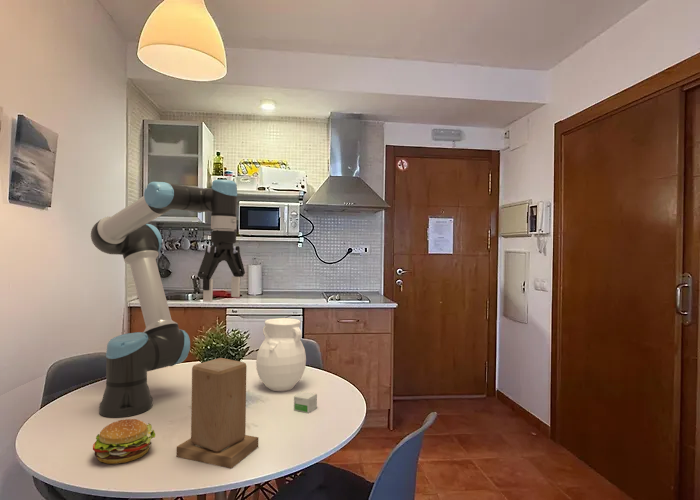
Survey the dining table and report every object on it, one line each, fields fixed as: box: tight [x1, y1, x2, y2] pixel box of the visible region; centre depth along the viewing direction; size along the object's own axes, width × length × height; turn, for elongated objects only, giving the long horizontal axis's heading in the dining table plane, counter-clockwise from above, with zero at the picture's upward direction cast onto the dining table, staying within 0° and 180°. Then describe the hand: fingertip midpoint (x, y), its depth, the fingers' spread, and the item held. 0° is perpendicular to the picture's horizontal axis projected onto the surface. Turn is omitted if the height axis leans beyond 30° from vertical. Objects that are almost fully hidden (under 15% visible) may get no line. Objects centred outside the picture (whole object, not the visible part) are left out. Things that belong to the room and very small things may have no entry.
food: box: [92, 418, 156, 465], centre depth 110 cm, size 14×14×8 cm
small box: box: [293, 390, 318, 414], centre depth 142 cm, size 6×6×5 cm
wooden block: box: [190, 357, 247, 451], centre depth 111 cm, size 10×10×20 cm
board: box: [175, 434, 259, 469], centre depth 111 cm, size 16×12×3 cm
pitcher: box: [255, 317, 307, 392], centre depth 164 cm, size 19×18×25 cm
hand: (222, 299), depth 135 cm, fingers open, 13 cm apart
